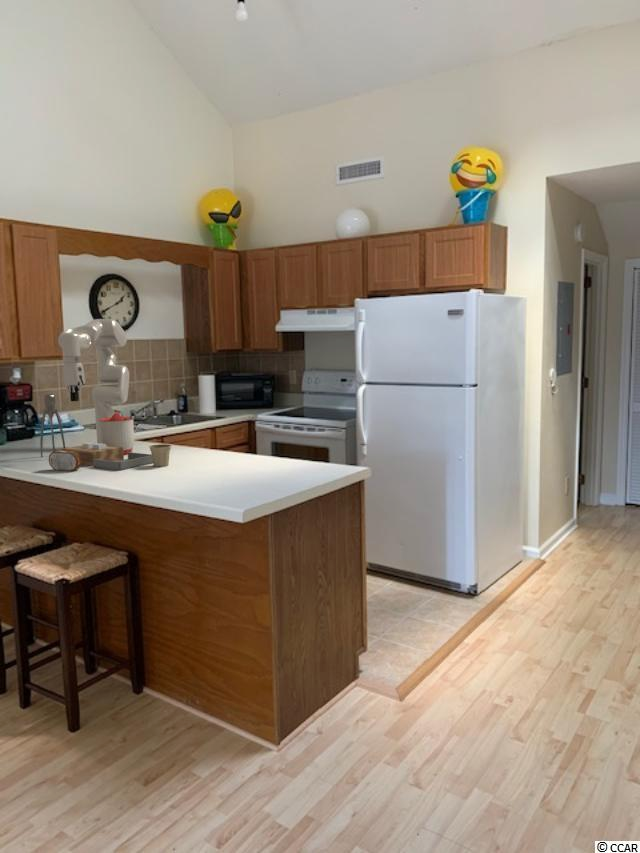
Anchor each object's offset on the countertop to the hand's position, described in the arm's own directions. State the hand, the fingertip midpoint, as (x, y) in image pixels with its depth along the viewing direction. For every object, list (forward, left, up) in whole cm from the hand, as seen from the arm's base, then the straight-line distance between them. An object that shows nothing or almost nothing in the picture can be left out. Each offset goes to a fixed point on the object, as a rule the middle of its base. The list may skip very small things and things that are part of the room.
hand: (74, 400), depth 304 cm
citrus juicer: (-20, +5, -27) cm, 34 cm away
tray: (0, +31, -27) cm, 41 cm away
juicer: (+2, -18, -27) cm, 33 cm away
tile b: (0, +15, -21) cm, 26 cm away
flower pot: (-6, +47, -27) cm, 55 cm away
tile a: (0, +8, -21) cm, 22 cm away
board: (0, +10, -27) cm, 29 cm away
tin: (+20, +17, -27) cm, 38 cm away
